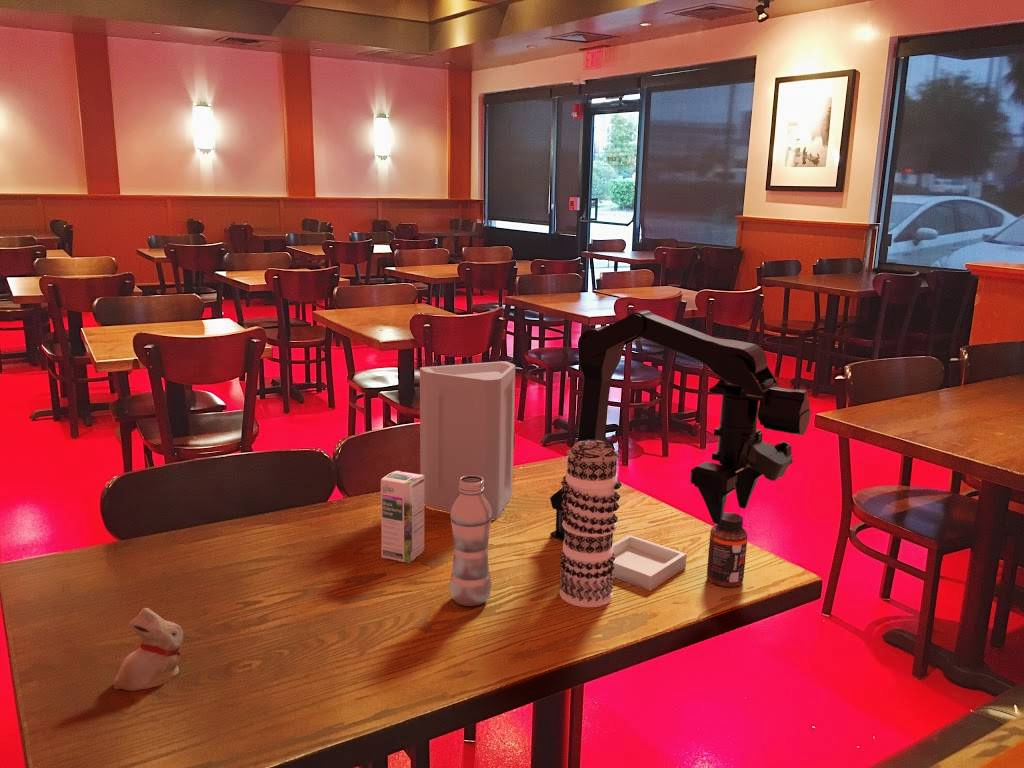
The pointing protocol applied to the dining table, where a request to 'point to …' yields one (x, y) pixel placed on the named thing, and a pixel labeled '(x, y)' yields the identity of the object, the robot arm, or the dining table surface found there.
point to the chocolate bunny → (151, 653)
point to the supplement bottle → (727, 551)
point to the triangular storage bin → (467, 431)
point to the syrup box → (402, 516)
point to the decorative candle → (589, 523)
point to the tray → (645, 562)
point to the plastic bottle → (470, 543)
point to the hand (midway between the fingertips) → (730, 515)
